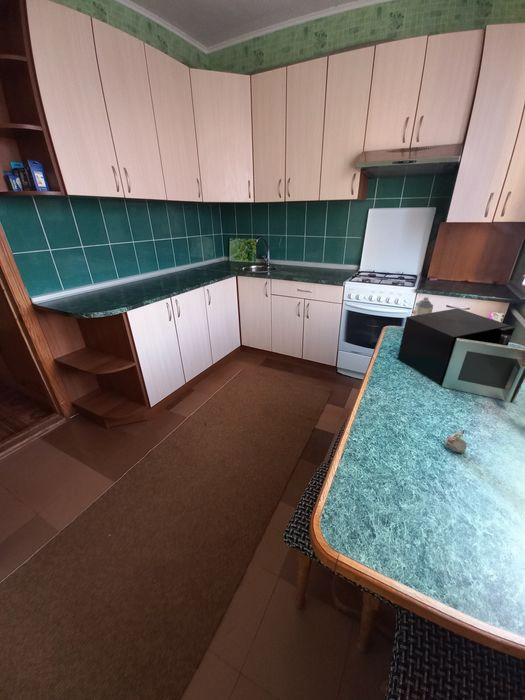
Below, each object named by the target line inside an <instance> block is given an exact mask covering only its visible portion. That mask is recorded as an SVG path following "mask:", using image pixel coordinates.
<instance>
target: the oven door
mask: <svg viewBox="0 0 525 700" xmlns="http://www.w3.org/2000/svg"><path fill="white" fill-rule="evenodd" d="M524 381H525V347H519V346H512V345H508V346H507V345H500V344H493V343H487V342H480V341H473V340H467V339H460V338H456V341H455V345H454V348H453V351H452V354H451V357H450V361H449V364H448V367H447V370H446V373H445V376H444V380H443V383H442V384H441V387H442V388H446V389H451V390H456V391H459V392H460V391H461V392H465V393H468V394H475V395H480V396H483V397H489V398H493V399H498V400H502V401H505V402H507V403H509V404H513V403H514V402H515V401H516V398H517V396H518V394H519V392H520V389H521V387H522V385H523V384H524Z"/></svg>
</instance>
